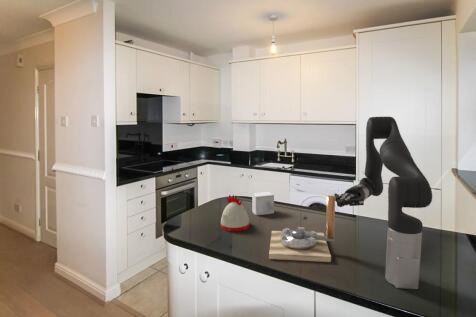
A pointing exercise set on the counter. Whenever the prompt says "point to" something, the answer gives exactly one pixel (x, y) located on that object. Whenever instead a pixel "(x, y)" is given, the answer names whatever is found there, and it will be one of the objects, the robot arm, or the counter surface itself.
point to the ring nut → (309, 239)
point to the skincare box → (262, 203)
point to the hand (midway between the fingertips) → (339, 204)
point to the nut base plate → (284, 253)
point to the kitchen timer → (234, 216)
